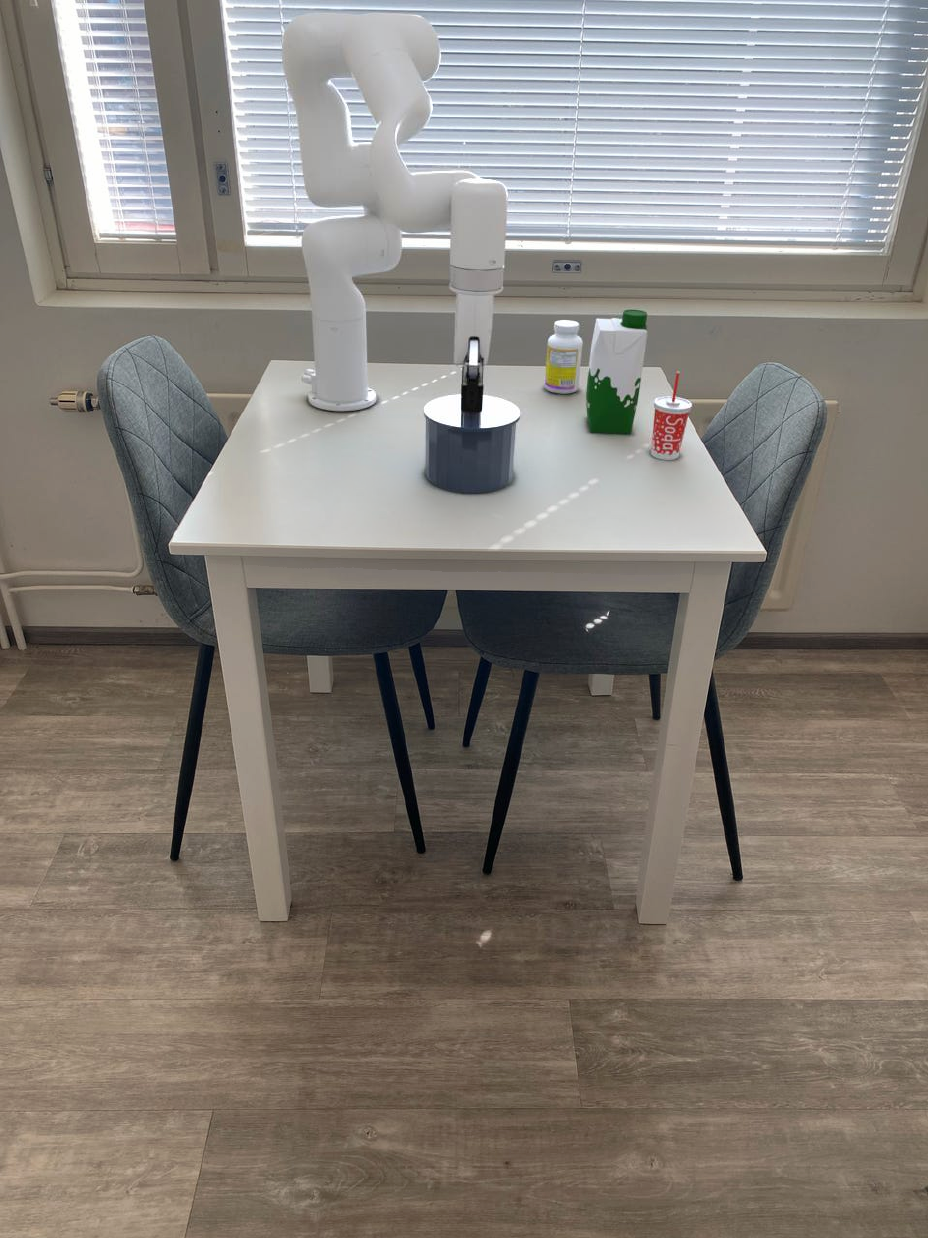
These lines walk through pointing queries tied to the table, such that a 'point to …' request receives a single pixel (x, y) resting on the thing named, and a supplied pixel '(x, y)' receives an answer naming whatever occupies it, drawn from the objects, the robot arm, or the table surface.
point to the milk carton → (615, 372)
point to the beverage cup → (669, 425)
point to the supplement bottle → (563, 358)
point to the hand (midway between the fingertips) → (471, 400)
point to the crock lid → (472, 414)
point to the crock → (469, 459)
